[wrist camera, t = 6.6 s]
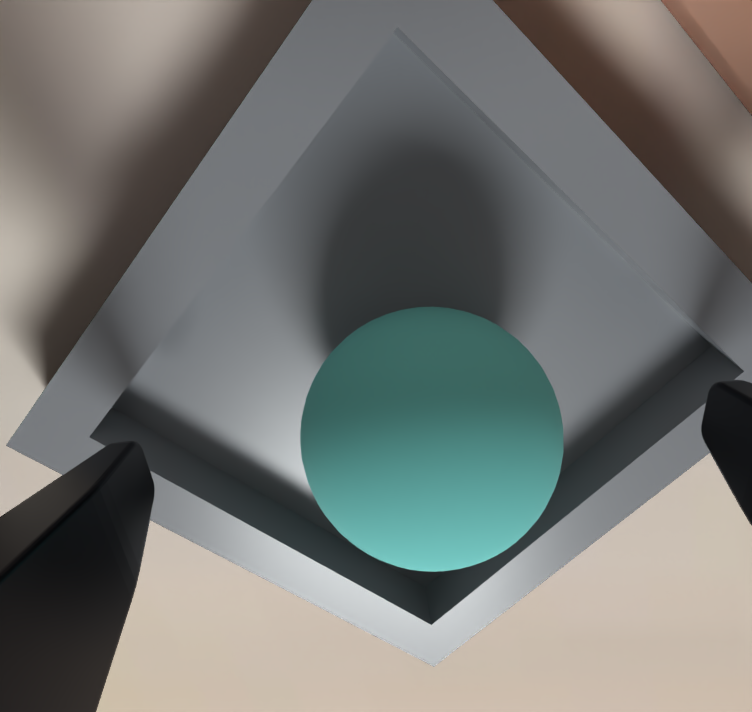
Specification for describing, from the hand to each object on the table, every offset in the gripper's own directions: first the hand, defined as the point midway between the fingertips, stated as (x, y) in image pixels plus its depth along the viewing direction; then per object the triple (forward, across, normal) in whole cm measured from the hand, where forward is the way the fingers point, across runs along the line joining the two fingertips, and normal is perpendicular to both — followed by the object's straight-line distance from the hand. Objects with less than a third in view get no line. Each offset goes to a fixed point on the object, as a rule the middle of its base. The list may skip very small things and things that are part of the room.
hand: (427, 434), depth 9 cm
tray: (+2, 0, 0) cm, 2 cm away
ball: (0, 0, 0) cm, 0 cm away
